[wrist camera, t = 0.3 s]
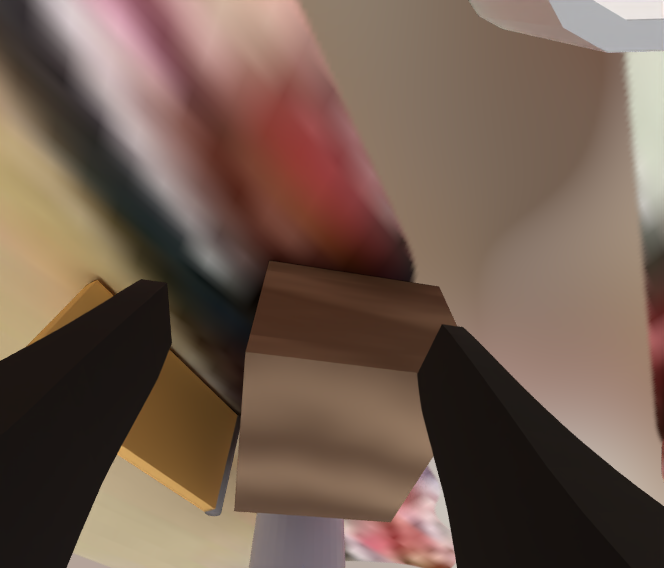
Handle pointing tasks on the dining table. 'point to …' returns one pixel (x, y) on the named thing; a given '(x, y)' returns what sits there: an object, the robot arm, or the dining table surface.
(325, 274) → the cabinet
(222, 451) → the cabinet door
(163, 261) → the dining table surface
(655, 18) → the white short cylinder
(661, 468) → the cell model
